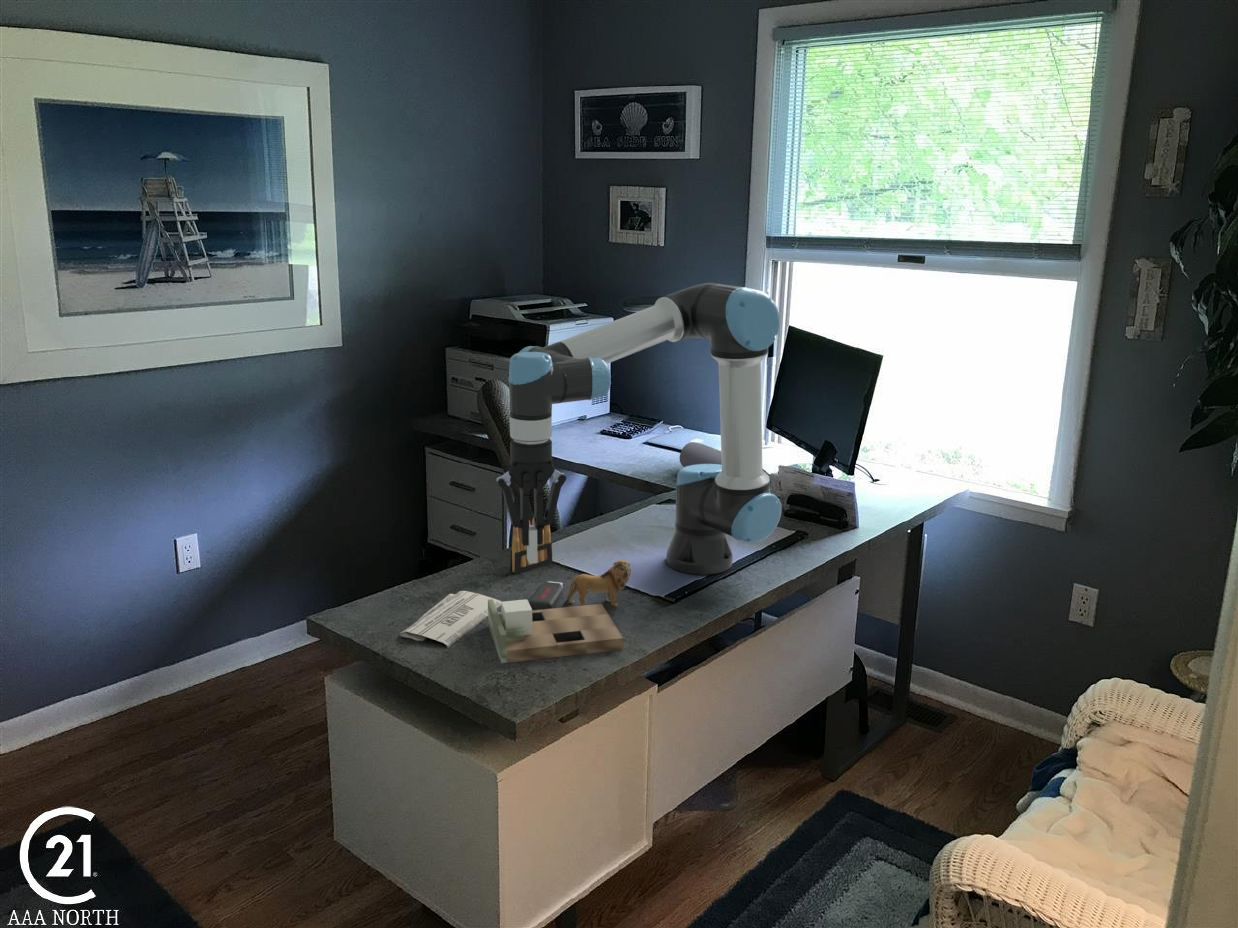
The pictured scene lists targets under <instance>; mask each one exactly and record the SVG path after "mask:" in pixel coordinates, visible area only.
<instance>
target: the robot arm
mask: <svg viewBox="0 0 1238 928" xmlns="http://www.w3.org/2000/svg"><path fill="white" fill-rule="evenodd" d="M780 325H781V318H780V311H779V309H778V306H777V304H776V303H775V301H774V300H773V298H771V296H769V295H768V294H767V293H765V292H763V291H761V290H758V289H754V288H753V287H749V286H746V287H745V286H736V285H728V284H721V283H717V282H705V283H700V284H695V285H692V286H689V287H686V288H683V289H681V290H677V291H675V292H672V293H670V294H667V295H665V296H662V297H659V298H657V300H656V301H655V303H654V305H652V306H649V307H648V308H644V309H642V310H638V311H637V312H634V313H632V314H629V315H625V316H624V317H621V318H618V319H616V320H613V321H611V322H607V323H604V324H603V325H600V326H596V327H594V328H591V329H590V330H587V331H584V332H581V333H579V334H576V335H573V336H571V337H568V338H565V339H563V340H560V341H557V342H555V343H552V344H549V345H545V346H544V347H543V346H542V347H541V346H537V345H536V346H535V345H534V346H532V345H529V346H526V347H524V348H522V349H521V350H520V351H519V352H517V353H514V354H513V355H512V356H511V357H510V358H509V359H510V360H509V367H508V368H509V369H508V386H509V387H508V389H509V436H510V438H511V440H510V441H509V445H510V446H509V448H510V449H509V450H510V452H509V453H510V454H509V455H510V462H509V465H508V467H507V471H506V472H505V473H503V474H502V475H497V476H496V477H495V480H496V482H497V484H498V486H499V487H500V488H501V490H502V493H503V497H504V501H505V504H506V508H507V513H508V516H509V519H510V522H511V524H512V526H514V527H515V528H517V527H518V529H519V528H521V541H522V544H523V546H527V560H528V562H529V564H532V563H537V545H539V544H542V542H543V529H544V526H546V525H550V526H551V525H552V524H553V523H554V518H555V514H556V509H557V506H558V501H559V498H560V493H561V489H562V487H563V485H564V484H565V483H566V481H567V476H566V474H565V473H564V472H563V471H559V470H557V469H556V468H555V466H554V464H553V442H552V440H551V438H552V435H553V433H552V432H553V429H552V428H553V426H552V425H553V424H552V421H553V419H552V415H553V414H552V413H553V405H556V404H565V403H572V402H580V401H592V400H594V399H599V398H603V397H604V396H606V395H607V394H608V392H609V391H610V388H611V385H612V384H611V383H612V381H611V379H612V376H611V370H610V368H609V365H608V364H610V363H613V362H615V361H618V360H619V359H622V358H626V357H627V356H630V355H632V354H635V353H638V352H640V351H643V350H645V349H648V348H650V347H653V346H656V345H658V344H660V343H663V342H665V341H669V342H672V343H676V342H678V341H681V340H684V339H689V338H690V339H693V338H695V339H696V338H697V339H704V340H705V339H706V340H708V341H710V356H711V357H712V359H714V360H715V361H716V362H717V364H718V383H719V384H718V388H719V418H720V419H719V420H720V421H719V422H720V426H719V427H720V451H721V460H722V465H720V464H697V465H691V466H686V467H682V468H680V470H678V472H677V477H676V483H675V524H674V527H675V528H674V532H673V535H672V536H671V539H670V542H669V546H668V547H667V550H666V564H667V565H668V566H669V567H670V568H672V569H673V570H675V571H677V572H681V573H685V574H689V575H691V574H692V575H703V576H704V575H707V576H708V575H715V574H720V573H724V572H726V571H729V569H731V567H732V566H733V552H732V548H731V545H730V541H729V537H728V536H730V537H733V539H735V540H737V541H742V542H744V543H747V544H756V543H760V542H762V541H764V540H766V539H767V538H768V537H769V536H771V534H772V533H773V532H774V530H775V529H776V528H777V526H778V524H779V523H780V519H781V517H782V503H781V500H780V499H779V498H778V497H777V496H776V494H774V493H773V492H771V485H770V483H771V481H770V480H771V479H770V476H769V475H768V473H766V472H765V471H764V470H763V429H762V428H763V425H762V421H763V420H762V418H763V417H762V367H761V366H762V361H763V360H764V359H765V357H767V355H768V354H769V347H770V346H772V345H773V343H774V342H775V340H776V338H775V337H776V336H778V334H779V331H780ZM511 478H512V480H513V482H514V483H516V485H517V486H518V488H519V497H520V498H519V502H520V505H519V509H520V511H519V513H520V514H519V515H520V516H519V517H520V518H519V517H518V513H517V510H516V505H515V502H514V498H513V495H512V494H513V493H512V491H511V489H510V487H509V486H511ZM550 479H551V480H552V483H551V486H550V490H549V494H548V498H547V502H546V506H545V512H544V486H545V485H546V484H547V483H548V482H549V480H550ZM532 489H533V511H534V512H533V517H534V523H535V525H532V524H530V525H531V526H529V520H530V494H531V493H530V491H531V490H532Z"/></svg>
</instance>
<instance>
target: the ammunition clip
mask: <svg viewBox="0 0 1238 928" xmlns="http://www.w3.org/2000/svg"><path fill="white" fill-rule="evenodd" d="M531 525H535V523H534V516H533V518H532V521H530V519H529V526H531ZM512 526H513V525H512ZM550 526H551V525H546V526H544V529H543V542H542V544H539V545H537V563H532V564H529V562H528V560H527V546H523V544H522V541H521V528H518V527H517V528H515V527H514V526H513V527H512V537H511V538H512V539H511V551H510V567H509V568H510V570H509V571H510V573H512V574H515V575H519V574H522V573H525V572H528V571H533V570H535V569H538V568H540V567H544V566H547V565H550V564H551V565H552V564H553V542H552V540H551V527H550Z"/></svg>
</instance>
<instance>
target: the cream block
mask: <svg viewBox="0 0 1238 928" xmlns="http://www.w3.org/2000/svg"><path fill="white" fill-rule="evenodd" d="M500 608H501V610H500V612H501V615H502V625H503V627H504V630H508V629H518V628H524V630H525V635H531V634H532V609H531V606H530V604H529V600H528V599H517V600H507V601H506V600H505V601H501V606H500Z"/></svg>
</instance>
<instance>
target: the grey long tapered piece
mask: <svg viewBox="0 0 1238 928" xmlns="http://www.w3.org/2000/svg"><path fill="white" fill-rule="evenodd" d="M678 457H679V463H680V464H681V466H682V468H684V467H686V466H691V465H697V464H720V465H722V460H721V450H719V449H717V448H714V447H712V446H709V445H706V444H702V443H699V442H694V441H691V442H687V443H686V444H685V445H684V446H683V447H682V449H681V451H680V453H679V456H678Z"/></svg>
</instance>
